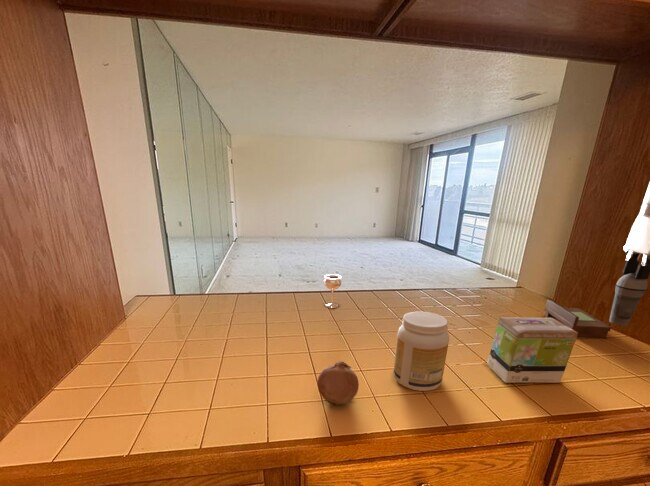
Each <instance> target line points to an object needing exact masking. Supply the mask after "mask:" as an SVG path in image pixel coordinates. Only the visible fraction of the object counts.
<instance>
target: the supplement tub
mask: <svg viewBox="0 0 650 486" xmlns="http://www.w3.org/2000/svg"><path fill="white" fill-rule="evenodd" d="M401 323H402V324H401V325H400V326H399V328H398V330H397V335H396V336H397V337H396V344H395V345H396V347H395V352H394V353H395V355H394V364H393V371H392V372H393V377H394V379H395V380H396V382H397V383H398V384H400V385H401V386H403V387H405V388H407V389H409V390H413V391H417V392H428V391H429V392H430V391H432V390H435V389H438V388H439V386H440V385H441V384H442V382H443V376H444V373H445V366H446V362H447V361H446V360H447V354H448V348H449V343H450V335H449V332H448V331H447V330H448V319H447V318H445V317H444V316H442V315H440V314H437V313H434V312H430V311H410V312H407V313H405V314H404V315H403V317H402V320H401Z"/></svg>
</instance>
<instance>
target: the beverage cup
mask: <svg viewBox="0 0 650 486" xmlns="http://www.w3.org/2000/svg"><path fill="white" fill-rule="evenodd" d="M635 275H636V273H629V274H626V275H624V274H623V275H622V276H621V277H620V278H618V280H617V282H616V284H615V287H614V296H613V301H612V304H611V305H612V306H611V310H610V313H609V320H608V322H609V323H611V324H613V325H616V326H623V327H624V326H628V324H629V323H630V321H631V319H632V318H633V315H634V313H635V311H636V309H637V307H638V305H639V303H640V301H641V299H642V297H643V296H644V295H645V293H646V291H647V290H648V279H635Z"/></svg>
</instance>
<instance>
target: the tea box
mask: <svg viewBox="0 0 650 486" xmlns="http://www.w3.org/2000/svg"><path fill="white" fill-rule="evenodd" d="M577 335H578V332H576V331H574V330H573V329H571V328H569V327H568V326H566V325H565V324H563V323H562V322H561V321H559V320H558V319H554V318H546V317H523V316H522V317H518V316H517V317H516V316H515V317H514V316H512V317H510V316H509V317H508V316H505V317H504V316H500V317H499V318H498V322H497V326H496V328H495V332H494V336H493V340H492V344H491V349H490V352H489V356H488V359H487V363H486V364H487V366H488V367H489V368H490V369H491V370H492V371H493V372H494V373H495V374H496V376H498V377H499V378H500V380H502V381H503V382H504V384H508V383H509V384H510V383H548V384H549V383H551V384H552V383H553V384H555V383H556V384H559V383H561V381H562V378H563V376H564V373H565V370H566V368H567V365H568V363H569V359H570V357H571V354H572V353H573V352H572V351H573V348H574V345H575V344H576V340H577V338H578V337H577Z"/></svg>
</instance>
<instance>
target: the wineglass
mask: <svg viewBox="0 0 650 486" xmlns="http://www.w3.org/2000/svg"><path fill="white" fill-rule="evenodd" d="M324 278H325V279H324V280H323V282H324V286H325V287H326V289H328V290H330V291H331V303H327V304H325V306H326V307H327V308H329V309H336V308H338V307H339V304H336V303H334V293H335V290H338V289H339V288H340V287H341V285H342V276H341V275H339V274H335V273H334V274H331V273H330V274H326V275H324Z"/></svg>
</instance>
